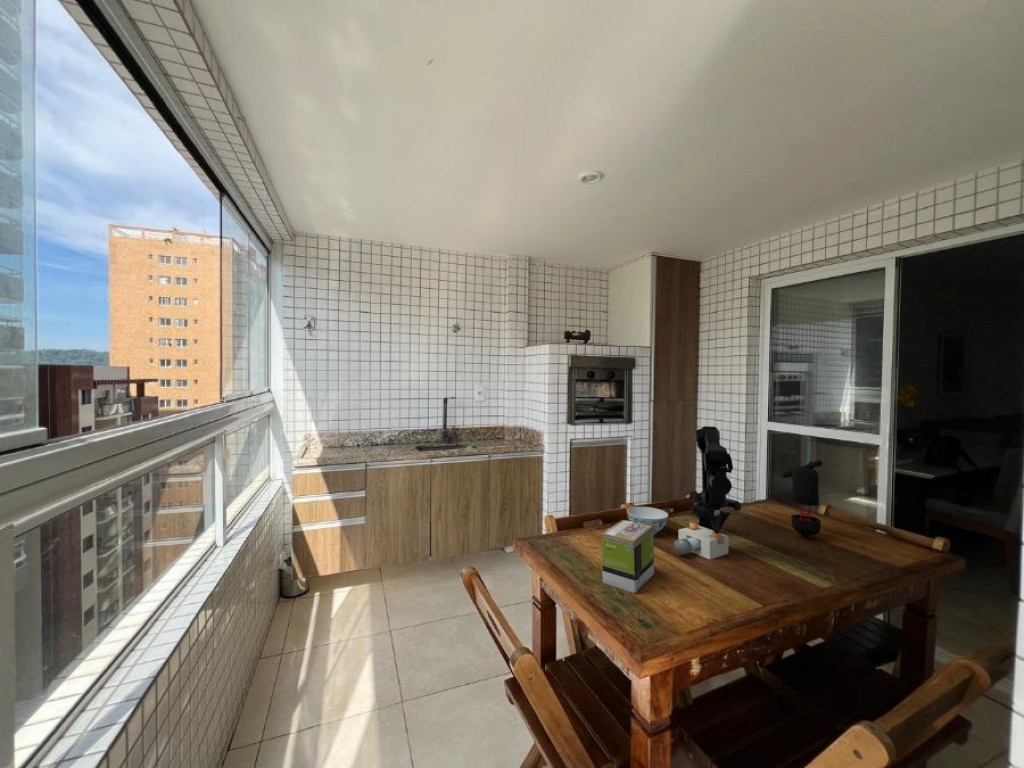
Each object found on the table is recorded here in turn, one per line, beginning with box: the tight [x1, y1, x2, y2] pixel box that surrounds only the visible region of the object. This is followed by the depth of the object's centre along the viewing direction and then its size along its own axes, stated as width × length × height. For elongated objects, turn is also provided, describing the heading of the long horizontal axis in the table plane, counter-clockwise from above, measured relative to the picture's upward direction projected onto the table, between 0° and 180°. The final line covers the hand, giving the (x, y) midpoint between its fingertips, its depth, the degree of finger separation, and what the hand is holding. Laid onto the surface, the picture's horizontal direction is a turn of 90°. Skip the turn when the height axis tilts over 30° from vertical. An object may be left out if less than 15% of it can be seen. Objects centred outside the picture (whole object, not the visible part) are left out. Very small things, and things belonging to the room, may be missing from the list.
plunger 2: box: [712, 531, 722, 542], centre depth 134 cm, size 3×3×2 cm
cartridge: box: [673, 537, 701, 555], centre depth 135 cm, size 16×5×5 cm, turn 119°
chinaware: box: [627, 506, 669, 536], centre depth 154 cm, size 15×15×8 cm
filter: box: [781, 459, 823, 540], centre depth 150 cm, size 14×9×30 cm
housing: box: [678, 525, 729, 561], centre depth 137 cm, size 10×12×6 cm
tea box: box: [601, 519, 655, 594], centre depth 116 cm, size 15×10×15 cm, turn 141°
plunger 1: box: [688, 521, 699, 530], centre depth 142 cm, size 3×3×2 cm
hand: (716, 532), depth 134 cm, fingers closed, pressing on plunger 2
